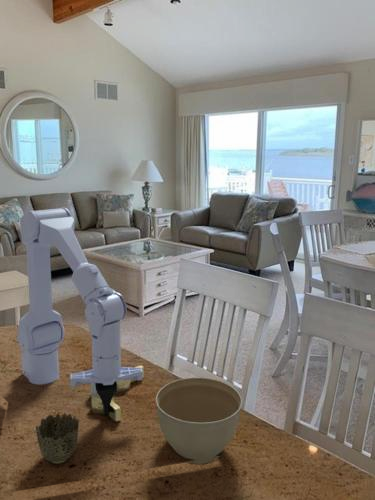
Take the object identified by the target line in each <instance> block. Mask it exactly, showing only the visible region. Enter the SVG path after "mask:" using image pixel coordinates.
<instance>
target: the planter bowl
mask: <svg viewBox="0 0 375 500" xmlns="http://www.w3.org/2000/svg"><path fill="white" fill-rule="evenodd" d="M155 406H156V411H157V418H158V424H159V427H160V429H161V431H162V434H163V436H164V437H165V439H166V441H167V443H168V444H169V445H170V446H171V447H172V449H173V450H174V451H175V453H177V454H178V455H180V456H181V457H183V458H186V459H190V460H188V461H187V460H186V461H185V462H186V463H187V464H188V463H189V464H193V465H203V464H209V463H212V462H214V461H216V460H217V459H219V458H220V455H219V454H220V453H223V450H224V449H225V448H226V447H227V446H228V445H229V444H230V441H232V439H233V437H234V436H235V434H236V431H237V429H238V425H239V422H240V417H241V411H242V408H243V398H242V396H241V394H240V392H239V391H238V390H236V388H235V387H233V386H232V385H230V384H228V383H226V382H224V381H221V380H217V379H213V378H209V377H185V378H181V379H176V380H173V381H171V382H169V383H167V384H165V385H164V386H162V387H161V388H160V389H159V390H158V392H157V394H156V397H155Z"/></svg>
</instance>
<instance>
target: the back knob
mask: <svg viewBox="0 0 375 500" xmlns="http://www.w3.org/2000/svg"><path fill="white" fill-rule="evenodd" d="M139 367H141V368H142V371H143V378H145V372H144V370H145V368H144V366H143V365H137V366H135V367H134V368H139ZM137 381H138V380H137V379H132V380H122V381H117V390H116V392H117V393H122V392H126V391H128V390H129V389H131V384H132V383H134V382H137ZM116 392H115V393H116Z"/></svg>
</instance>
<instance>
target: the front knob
mask: <svg viewBox="0 0 375 500" xmlns="http://www.w3.org/2000/svg"><path fill="white" fill-rule="evenodd" d="M114 396H115V395H114ZM114 396H113V398H112V400H111V403H110V406H109V416H108V417H110V418H111V419H112V420H113V421H114V422H116V423H117V422H119V421H121V420H122V412H121V411H122V408H121V406H119V405H118V404H117V403H116V402H115V398H114ZM90 398H91V397H90ZM90 402H91V411H92V412H93V413H95V414H98V415H104V411H103V402H102V400H101V398H100V396H99V395H98V394H96V395H94V396H93V397H92V398H91V399H90Z"/></svg>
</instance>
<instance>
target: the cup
mask: <svg viewBox="0 0 375 500" xmlns="http://www.w3.org/2000/svg"><path fill="white" fill-rule="evenodd" d="M79 423H80V421H79V418H76V415H74V416H72V415H71V414H70V413H68V414H67V413H63V414H62V415H60V413H57V414H56V415H55V416H54V415H52V414H48V415H47V416H46V417H45V418H41V420H40V425H35V432H36V437H37V442H38V447H39V450H40V453H41V455H42V456H43V458H44V459H45V460H47V461H48V462H51V463H53V464H62V463H64V462H66V461H68V460H69V458H71V456H73V454H74V453H75V451H76V449H77V444H78V438H79V436H78V435H79Z"/></svg>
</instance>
